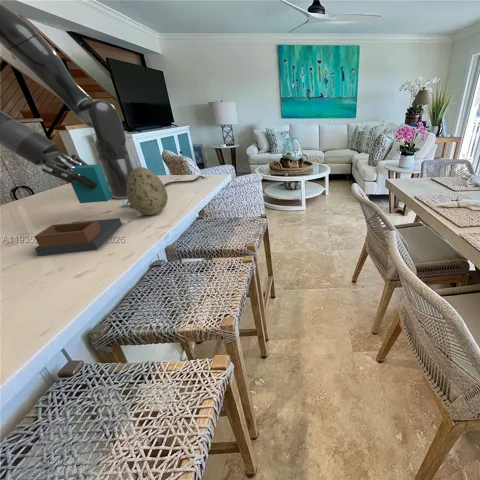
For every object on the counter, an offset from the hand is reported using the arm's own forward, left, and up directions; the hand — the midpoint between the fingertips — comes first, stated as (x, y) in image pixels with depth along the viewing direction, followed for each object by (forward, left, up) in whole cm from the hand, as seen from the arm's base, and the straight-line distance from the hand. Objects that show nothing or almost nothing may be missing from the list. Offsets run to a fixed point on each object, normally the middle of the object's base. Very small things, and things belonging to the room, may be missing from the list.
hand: (98, 184), depth 77 cm
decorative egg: (-9, +7, -11) cm, 16 cm away
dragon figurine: (-11, -6, -11) cm, 17 cm away
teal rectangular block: (+1, -1, -5) cm, 5 cm away
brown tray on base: (+10, +9, -11) cm, 17 cm away
